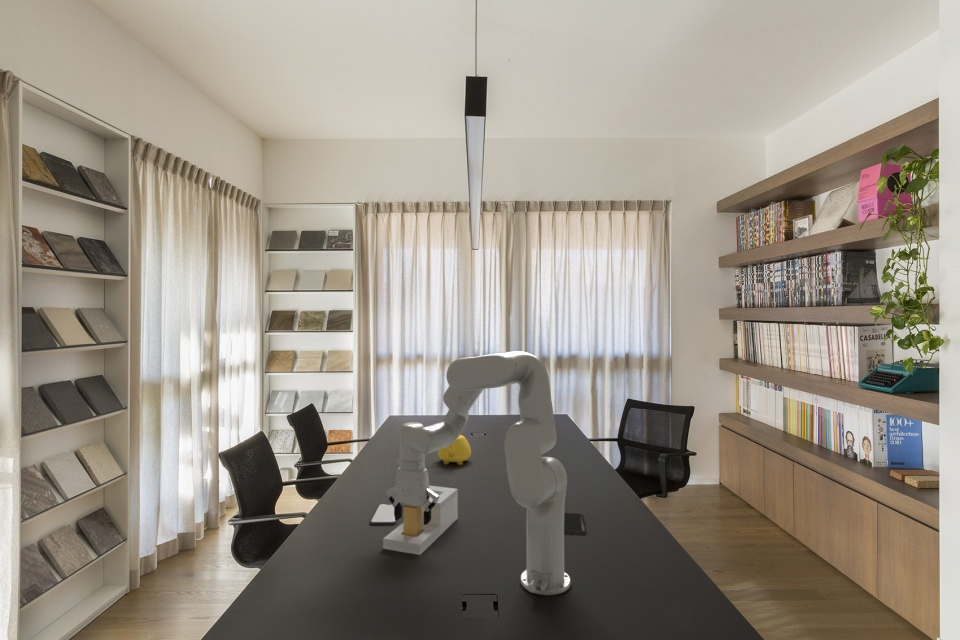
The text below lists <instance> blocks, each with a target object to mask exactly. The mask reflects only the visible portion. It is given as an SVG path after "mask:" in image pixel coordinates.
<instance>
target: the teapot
mask: <svg viewBox="0 0 960 640" xmlns="http://www.w3.org/2000/svg"><path fill="white" fill-rule="evenodd" d="M437 455H438V457H439V458H440V459H441V461H443V465H449V464H450V463H453V462H454V463H456V465H457V466H458V465H459V466H463V465H464V462H465V461H466V460H467V461H468V459H469V458H470V457H471V455H472V449H471V446H470V443H469V441H468V439H467V438H466V437H465V436H464V435H463V434H460V435H459V437H458V438H457V439H456V441H455V442H454V443H453V444H451V445H450V446H448V447H445V448H442V449H439V450H437Z"/></svg>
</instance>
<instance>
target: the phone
mask: <svg viewBox="0 0 960 640" xmlns="http://www.w3.org/2000/svg"><path fill="white" fill-rule="evenodd" d="M584 520H585V518H584V515H583V514H582V513H574V512H573V513H570V512H569V513H568V512H564V535H565V534H566V535H585V534H587V533H586V532H587V531H586V524H585V521H584Z"/></svg>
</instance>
